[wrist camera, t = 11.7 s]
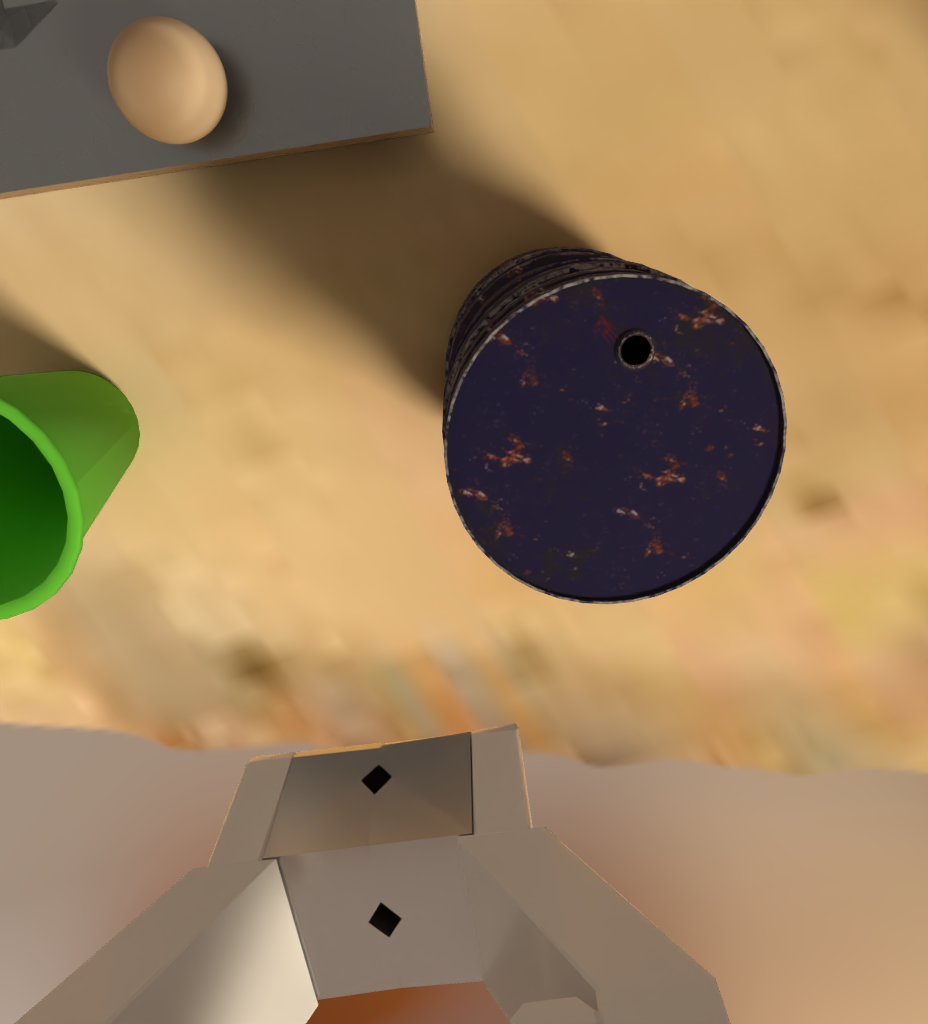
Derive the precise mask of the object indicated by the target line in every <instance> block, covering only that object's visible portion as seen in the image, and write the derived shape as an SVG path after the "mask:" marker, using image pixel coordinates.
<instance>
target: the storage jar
mask: <svg viewBox="0 0 928 1024" xmlns="http://www.w3.org/2000/svg"><path fill="white" fill-rule="evenodd" d="M445 378H446V385H445V390H444V403H443V426H442V434H443V443H444V460H445V468H446V477H447V483H448V486H449V490H450V493H451V497H452V500H453V504H454V507H455V509H456V511H457V513H458V515H459V517H460V519H461V521H462V523H463V525H464V527H465V529H466V530H467V532H468V533H469V535H470V536H471V537H472V539H473V540H474V542H475V543H476V545H477V546H478V547H479V549H480V550H481V551H482V552H483V553H484V554H485V555H486V556H487V557H488V558H489V559H490V560H491V561H492V562H493V563H494V564H495V565H496V566H498V567H499V568H500V569H502V570H503V571H504V572H506V573H507V574H508V575H510V576H511V577H512V578H514V579H515V580H517V581H519V582H521V583H523V584H525V585H527V586H529V587H530V588H532V589H534V590H536V591H539V592H542V593H545V594H548V595H551V596H553V597H556V598H559V599H564V600H570V601H575V602H580V603H593V604H615V603H625V602H634V601H638V600H642V599H647V598H651V597H655V596H659V595H661V594H664V593H666V592H669V591H671V590H674V589H677V588H679V587H682V586H683V585H685V584H687V583H689V582H691V581H692V580H694V579H696V578H698V577H700V576H701V575H703V574H705V573H706V572H707V571H709V570H710V569H711V568H713V567H714V566H715V565H717V564H718V563H719V562H721V561H722V560H723V559H725V558H726V557H727V556H728V555H729V554H730V553H731V552H732V551H733V550H734V549H735V548H736V547H737V546H738V545H739V544H740V543H741V542H742V541H743V540H744V538H745V537H746V536H747V535H748V533H749V532H750V531H751V529H752V528H753V527H754V525H755V524H756V523H757V521H758V520H759V518H760V517H761V515H762V513H763V511H764V509H765V508H766V506H767V504H768V502H769V500H770V499H771V496H772V494H773V491H774V488H775V486H776V483H777V480H778V478H779V475H780V472H781V467H782V462H783V458H784V453H785V448H786V427H787V419H786V411H785V403H784V395H783V392H782V389H781V385H780V382H779V379H778V375H777V372H776V369H775V367H774V365H773V364H772V362H771V360H770V358H769V356H768V354H767V352H766V350H765V348H764V346H763V345H762V343H761V342H760V341H759V339H758V338H757V337H756V336H755V334H754V333H753V332H752V330H751V329H750V328H749V326H748V325H747V324H746V323H745V322H744V321H742V320H741V319H740V318H739V317H738V316H737V315H736V314H735V313H734V312H733V311H732V310H731V309H729V308H728V307H727V306H725V305H724V304H722V303H721V302H719V301H718V300H716V299H714V298H713V297H711V296H710V295H708V294H707V293H705V292H702V291H700V290H698V289H695V288H693V287H691V286H689V285H688V284H686V283H685V282H683V281H682V280H680V279H677V278H675V277H672V276H670V275H668V274H665V273H663V272H660V271H658V270H655V269H652V268H649V267H647V266H645V265H642V264H638V263H634V262H630V261H625V260H623V259H621V258H618V257H616V256H614V255H611V254H608V253H604V252H600V251H595V250H591V249H583V248H569V247H560V248H559V247H554V248H544V249H537V250H534V251H530V252H526V253H523V254H520V255H518V256H516V257H514V258H511V259H509V260H507V261H505V262H504V263H502V264H501V265H499V266H498V267H496V268H495V269H493V270H492V271H490V272H489V273H488V274H487V275H486V276H485V277H484V278H483V279H482V280H481V281H480V282H479V283H478V284H477V285H476V286H475V287H474V289H473V290H472V291H471V293H470V294H469V295H468V296H467V298H466V300H465V302H464V303H463V305H462V307H461V309H460V310H459V313H458V315H457V318H456V321H455V323H454V326H453V329H452V332H451V335H450V339H449V344H448V349H447V353H446V372H445Z"/></svg>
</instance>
